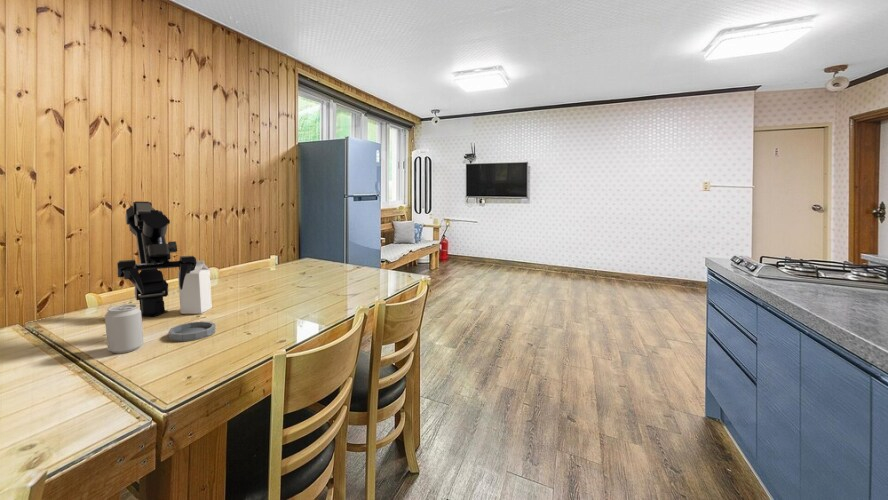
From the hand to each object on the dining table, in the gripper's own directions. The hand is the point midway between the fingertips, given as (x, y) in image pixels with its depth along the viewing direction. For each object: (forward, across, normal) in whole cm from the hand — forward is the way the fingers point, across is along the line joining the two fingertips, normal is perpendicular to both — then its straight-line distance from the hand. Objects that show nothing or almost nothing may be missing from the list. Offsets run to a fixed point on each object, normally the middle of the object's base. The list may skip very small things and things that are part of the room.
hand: (162, 291), depth 109 cm
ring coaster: (+13, +6, +6) cm, 16 cm away
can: (+14, -9, +5) cm, 18 cm away
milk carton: (-2, +12, +27) cm, 30 cm away
